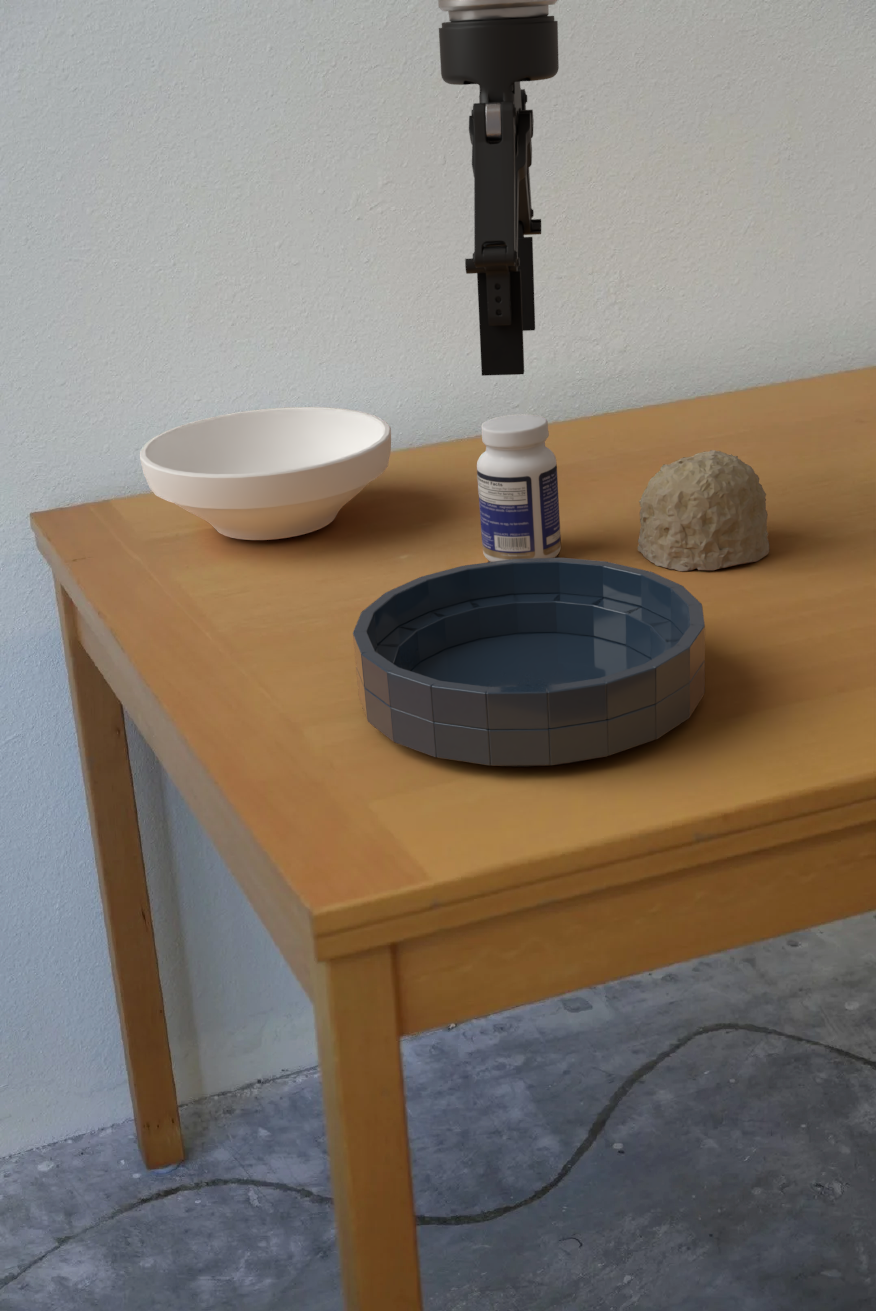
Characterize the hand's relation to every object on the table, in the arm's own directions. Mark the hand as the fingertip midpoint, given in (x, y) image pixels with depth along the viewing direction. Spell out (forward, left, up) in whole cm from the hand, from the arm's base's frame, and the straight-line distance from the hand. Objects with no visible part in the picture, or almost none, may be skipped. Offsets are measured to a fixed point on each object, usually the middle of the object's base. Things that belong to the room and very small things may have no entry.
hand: (510, 351), depth 102 cm
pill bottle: (0, 0, -15) cm, 15 cm away
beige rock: (-13, 0, -15) cm, 20 cm away
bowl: (+20, -8, -15) cm, 26 cm away
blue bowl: (-2, +24, -15) cm, 28 cm away
